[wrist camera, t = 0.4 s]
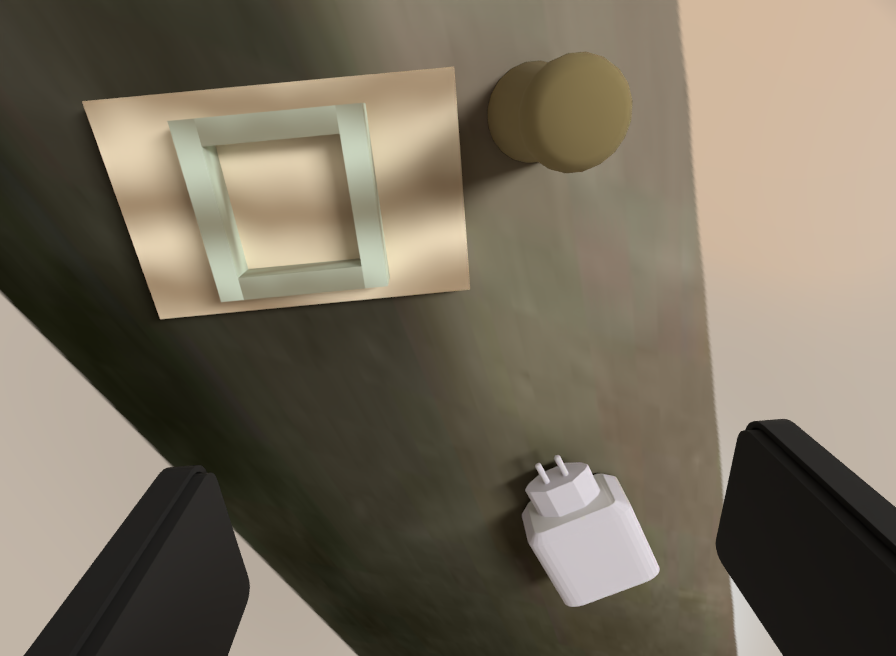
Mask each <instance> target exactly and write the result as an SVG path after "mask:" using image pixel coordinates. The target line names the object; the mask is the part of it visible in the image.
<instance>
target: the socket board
mask: <svg viewBox="0 0 896 656" xmlns="http://www.w3.org/2000/svg"><path fill="white" fill-rule="evenodd" d="M82 102H83V105H84V108H85V111H86V114H87V116H88V119H89V122H90V125H91V128H92V130H93V133H94V136H95V139H96V142H97V144H98V147H99V150H100V153H101V155H102V158H103V161H104V164H105V167H106V169H107V172H108V175H109V178H110V181H111V183H112V186H113V189H114V192H115V195H116V197H117V200H118V203H119V206H120V209H121V211H122V214H123V217H124V220H125V222H126V225H127V228H128V231H129V234H130V236H131V239H132V242H133V245H134V248H135V250H136V253H137V256H138V259H139V262H140V264H141V267H142V270H143V273H144V276H145V278H146V281H147V284H148V287H149V289H150V292H151V295H152V298H153V301H154V303H155V306H156V309H157V312H158V315H159V317H160V319H167V318H178V317H188V316H199V315H209V314H219V313H230V312H240V311H251V310H261V309H271V308H282V307H292V306H303V305H313V304H323V303H334V302H344V301H355V300H365V299H375V298H386V297H396V296H407V295H417V294H427V293H438V292H448V291H459V290H469V289H470V282H469V268H468V254H467V240H466V226H465V212H464V197H463V183H462V169H461V155H460V141H459V127H458V113H457V99H456V85H455V71H454V67H445V68H434V69H424V70H413V71H402V72H392V73H381V74H370V75H360V76H349V77H338V78H328V79H317V80H306V81H296V82H285V83H274V84H263V85H253V86H242V87H231V88H221V89H210V90H199V91H189V92H178V93H167V94H157V95H146V96H135V97H124V98H114V99H103V100H92V101H82Z"/></svg>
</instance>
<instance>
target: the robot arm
mask: <svg viewBox="0 0 896 656" xmlns="http://www.w3.org/2000/svg"><path fill="white" fill-rule="evenodd" d="M716 550H717V554H718V556H719V559H720V561H721V563H722V564H723V566H724V567H725V569H726V570H727V572H728V573H729V575H730V576H731V578H732V579H733V581H734V582H735V584H736V585H737V587H738V588H739V590H740V591H741V593H742V594H743V596H744V597H745V599H746V600H747V602H748V603H749V605H750V607H751V608H752V609H753V611H754V612H755V614H756V616H757V617H758V619H759V620H760V621H761V623H762V625H763V626H764V628H765V629H766V631H767V632H768V634H769V635H770V637H771V638H772V640H773V641H774V643H775V644H776V646H777V647H778V649H779V650H780V652H781V653H782V655H783V656H896V507H895V506H893V505H892V504H891V503H890V502H888V501H887V500H886V499H885V498H884V497H882V496H881V495H880V494H879V493H878V492H877V491H875V490H874V489H873V488H872V487H870V486H869V485H868V484H867V483H866V482H864V481H863V480H862V479H861V478H860V477H858V476H857V475H856V474H855V473H854V472H852V471H851V470H850V469H849V468H848V467H846V466H845V465H844V464H843V463H842V462H840V461H839V460H838V459H837V458H835V457H834V456H833V455H832V454H831V453H829V452H828V451H827V450H826V449H825V448H824V447H822V446H821V445H820V444H819V443H818V442H816V441H815V440H814V439H813V438H812V437H810V436H809V435H808V434H807V433H805V432H804V431H803V430H801V428H800V427H798V426H797V425H796V424H795V423H793V422H791V421H790V420H787V419H777V420H765V421H753V422H751V423H749V424H748V426H747V427H746V430H744V431H741V432H740V433H739V435H738V438H737V442H736V447H735V452H734V457H733V461H732V466H731V471H730V476H729V480H728V485H727V490H726V495H725V499H724V504H723V509H722V514H721V518H720V523H719V528H718V533H717V537H716ZM249 589H250V585H249V578H248V575H247V572H246V568H245V565H244V563H243V559H242V556H241V553H240V550H239V547H238V544H237V541H236V538H235V534H234V531H233V528H232V525H231V522H230V519H229V515H228V512H227V509H226V506H225V503H224V500H223V497H222V494H221V490H220V487H219V484H218V481H217V478H216V476H215V475H214V474H213V473H207V472H206V469H205V468H204V467H203V466H200V465H194V466H182V467H170V468H166V469H164V470H163V471H162V472H161V473H160V474H159V475H158V476H157V478H156V479H155V480H154V482H153V483H152V484H151V486H150V487H149V488H148V490H147V491H146V492H145V494H144V495H143V496H142V498H141V499H140V500H139V502H138V503H137V505H136V506H135V507H134V508H133V510H132V511H131V512H130V514H129V515H128V517H127V518H126V519H125V521H124V522H123V523H122V525H121V526H120V527H119V529H118V530H117V531H116V533H115V534H114V535H113V537H112V538H111V539H110V541H109V542H108V543H107V545H106V546H105V548H104V549H103V550H102V552H101V553H100V554H99V556H98V557H97V558H96V559H95V561H94V562H93V563H92V565H91V566H90V568H89V569H88V570H87V572H86V573H85V574H84V576H83V577H82V578H81V580H80V581H79V582H78V584H77V585H76V586H75V588H74V589H73V590H72V592H71V593H70V594H69V596H68V597H67V598H66V600H65V601H64V602H63V604H62V605H61V606H60V608H59V609H58V610H57V612H56V613H55V614H54V616H53V617H52V618H51V620H50V621H49V623H48V624H47V625H46V626H45V628H44V629H43V630H42V632H41V633H40V635H39V636H38V637H37V639H36V640H35V641H34V643H33V644H32V645H31V647H30V648H29V649H28V651H27V652H26V653H25V655H24V656H228V653H229V651H230V648H231V645H232V642H233V640H234V637H235V634H236V632H237V629H238V626H239V623H240V621H241V618H242V615H243V613H244V610H245V607H246V604H247V601H248V597H249Z"/></svg>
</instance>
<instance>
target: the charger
mask: <svg viewBox="0 0 896 656" xmlns="http://www.w3.org/2000/svg"><path fill="white" fill-rule="evenodd" d="M554 459H555V461H556V463H557V465H558V466H557V467H554V468H552V469H549V470H547V471H544V469H543V467H542V465H541V464H540V463H537V464H536V465H535V467H536V469H537V471H538V473H539V475H538V476H537V477H536V478H535V479H534V480H532V481H531V482H530V483H529V484H528V486H527V488H526V489H525V491H526V493H527V494H528V496H529V498H530V500H531V501H530V502H529V503H528V505H527V506H526V508H525V510H524V511H523V513H522V519H523V523H524V527H525V531H526V535H527V540H528V543H529V545H530V546H531V548H532V550H533V551H534V553H535V555H536V556H537V558H538V560H539V561H540V563H541V565H542V566H543V568H544V570H545V571H546V573H547V575H548V576H549V578H550V580H551V581H552V583H553V584H554V586H555V588H556V589H557V591H558V593H559V594H560V596H561V598H562V599H563V601H564V603H565V604H566V605H568V606H572V607H575V606H581V605H585V604H587V603H590V602H593V601H596V600H598V599H601V598H604V597H606V596H609V595H612V594H615V593H617V592H620V591H623V590H626V589H628V588H631V587H634V586H637V585H639V584H642V583H645V582H647V581H649V580H651V579H652V578H654V577H655V576H656V575H657V574H658V573H659V566H658V564H657V561H656V559H655V557H654V555H653V553H652V551H651V548H650V546H649V544H648V542H647V540H646V537H645V535H644V533H643V531H642V529H641V527H640V524H639V522H638V520H637V518H636V516H635V513H634V511H633V509H632V507H631V505H630V503H629V501H628V499H627V497H626V495H625V493H624V491H623V489H622V487H621V485H620V483H619V481H618V479H617V478H616V477H615V476H612V475H606V474H595V475H593V474H592V472H591V470H590V468H589V466H588V464H585V463H582V462H577V463H563V461H562V459H561V457H560V456H559V455H556V456H555V457H554Z"/></svg>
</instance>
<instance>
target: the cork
mask: <svg viewBox="0 0 896 656" xmlns="http://www.w3.org/2000/svg"><path fill="white" fill-rule="evenodd" d="M487 114H488V127H489V130H490V133H491V136H492V138H493V141H494V142H495V143H496V145H497V146H498V147H499V149H500V150H501V151H502V152H503V153H505V154H506V155H508V156H509V157H511V158H512V159H514V160H518V161H522V162H526V163H531V162H540V163H541V164H542V165H544V166H545V167H547V168H549V169H551V170H555V171H559V172H563V173H573V172H583V171H585V170H587V169H590V168H592V167H594V166H597V165H599V164H601V163H602V162H603V161H605V160H606V159H607V158H608V157H609V156H611V155H612V154H613V153H614V152H615V151H616V149H617V148H618V147H619V145H620V144H621V142H622V141H623V139H624V138H625V136H626V133H627V130H628V127H629V124H630V122H631V115H632V98H631V93H630V89H629V85H628V82H627V81H626V79H625V78H624V76H623V74H622V73H621V71H620V70H619V68H617V67H616V66H615V65H613V64H612V63H611V62H609V61H608V60H607V59H606V58H604V57H602V56H599V55H595V54H592V53H589V52H578V53H568V54H565V55H563V56H561V57H559V58H557V59H554V60H552V61H550V62H548V63H547V62H544V61H532V62H525V63H523V64H520V65H518V66H516V67H514V68H512V69H511V70H509V71H508V72H507V73H506V74H505V75H504V76H503V77H502V78H501V79H500V80H499V81H498V83H497V85H496V87H495V88H494V90H493V92H492V94H491V97H490V101H489V105H488V109H487Z"/></svg>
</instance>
